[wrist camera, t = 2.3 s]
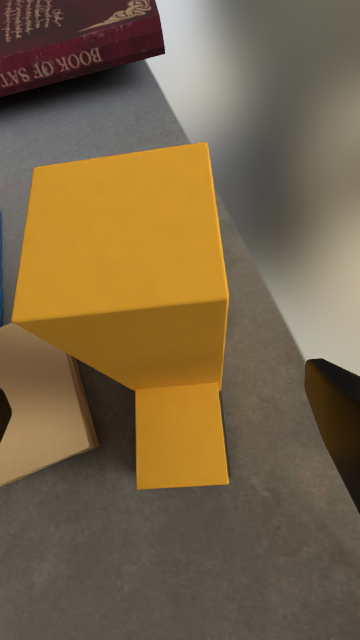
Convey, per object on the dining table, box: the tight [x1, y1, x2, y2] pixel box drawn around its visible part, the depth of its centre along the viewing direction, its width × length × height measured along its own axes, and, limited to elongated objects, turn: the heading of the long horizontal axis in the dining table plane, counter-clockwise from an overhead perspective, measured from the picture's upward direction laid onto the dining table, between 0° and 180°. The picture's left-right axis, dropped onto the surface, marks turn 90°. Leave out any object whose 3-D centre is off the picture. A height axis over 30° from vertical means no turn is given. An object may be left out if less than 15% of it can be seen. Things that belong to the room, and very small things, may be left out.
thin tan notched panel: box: [0, 322, 99, 487], centre depth 20 cm, size 10×6×2 cm, turn 22°
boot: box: [11, 142, 230, 490], centre depth 13 cm, size 9×5×14 cm, turn 4°
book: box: [0, 0, 165, 97], centre depth 32 cm, size 28×21×5 cm
